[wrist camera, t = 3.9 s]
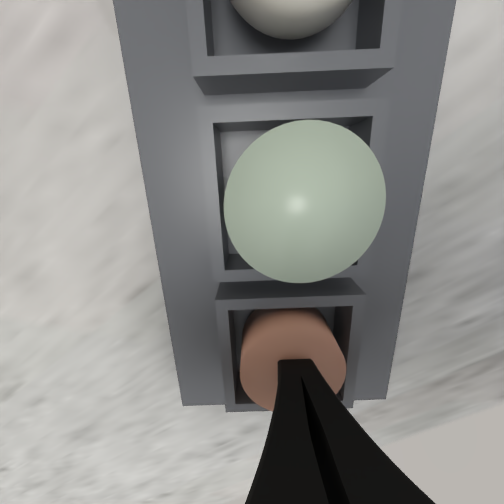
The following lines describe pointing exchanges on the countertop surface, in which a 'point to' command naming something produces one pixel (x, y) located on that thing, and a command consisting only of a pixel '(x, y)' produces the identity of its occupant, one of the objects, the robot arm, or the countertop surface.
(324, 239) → the sage button
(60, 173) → the countertop surface
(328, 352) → the terracotta button
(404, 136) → the panel
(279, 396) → the robot arm
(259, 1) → the cream button
